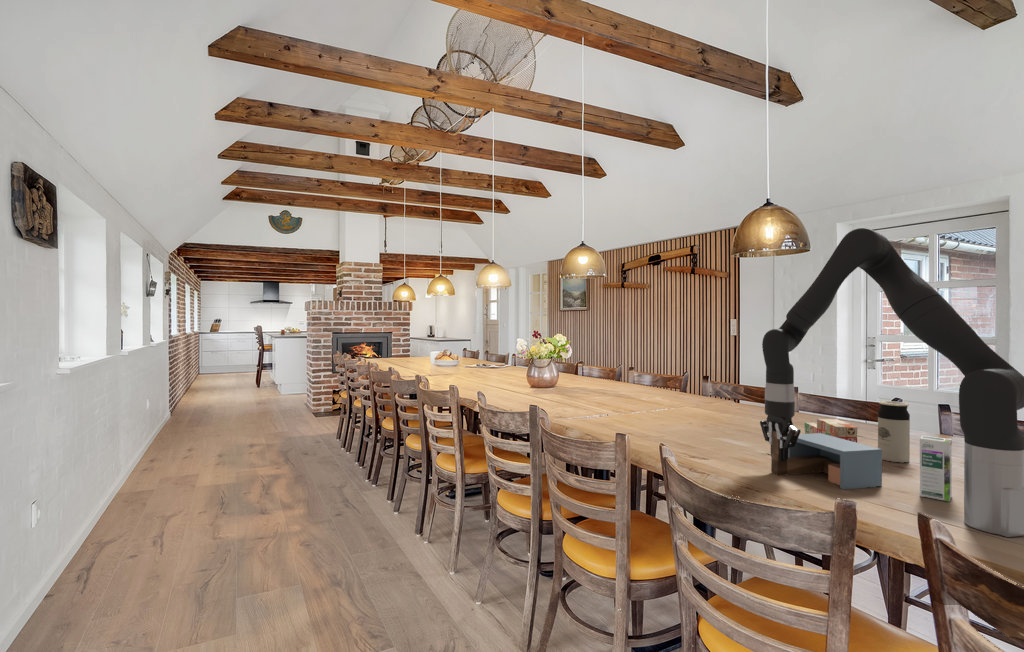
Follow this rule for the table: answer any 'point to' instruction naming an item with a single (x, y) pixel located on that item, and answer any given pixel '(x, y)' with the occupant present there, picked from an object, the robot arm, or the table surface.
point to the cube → (834, 473)
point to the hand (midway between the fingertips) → (779, 459)
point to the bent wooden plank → (796, 461)
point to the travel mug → (894, 431)
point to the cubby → (843, 458)
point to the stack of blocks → (833, 429)
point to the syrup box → (936, 468)
